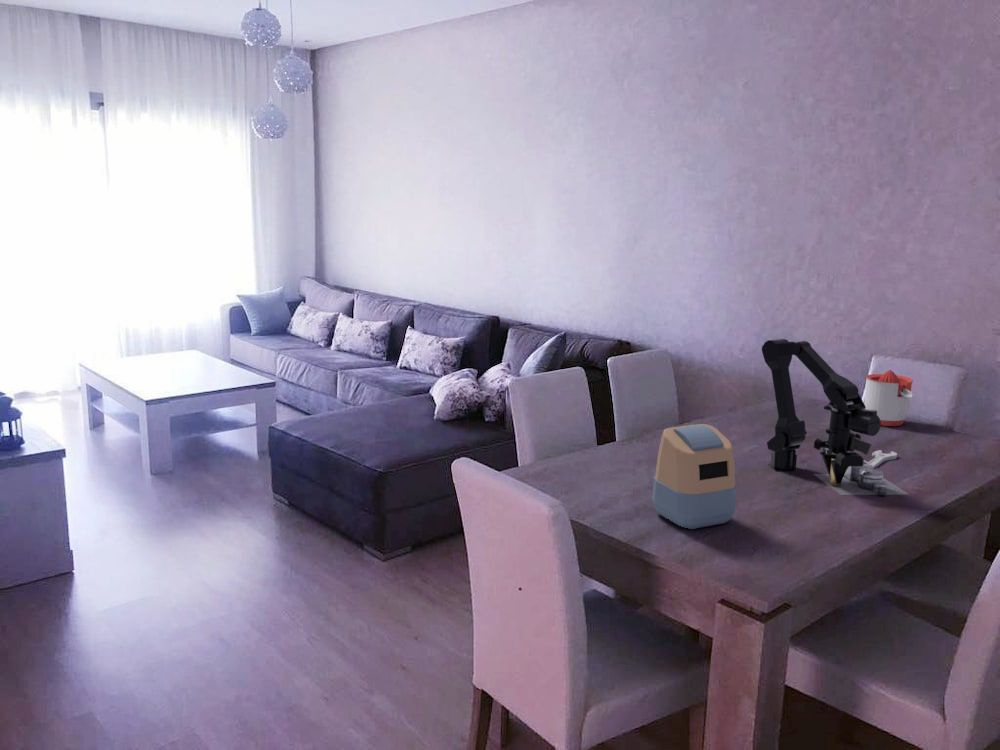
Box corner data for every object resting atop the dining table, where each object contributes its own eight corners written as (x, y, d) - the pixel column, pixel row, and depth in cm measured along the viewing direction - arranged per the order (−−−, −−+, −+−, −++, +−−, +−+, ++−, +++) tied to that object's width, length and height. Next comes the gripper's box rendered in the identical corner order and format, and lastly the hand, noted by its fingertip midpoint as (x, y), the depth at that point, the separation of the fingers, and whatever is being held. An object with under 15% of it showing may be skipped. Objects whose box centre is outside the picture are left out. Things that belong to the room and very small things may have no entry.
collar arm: (895, 495, 218) (896, 480, 217) (872, 495, 218) (874, 480, 217) (861, 472, 237) (862, 458, 236) (840, 472, 237) (841, 458, 236)
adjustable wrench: (867, 476, 238) (867, 470, 238) (845, 471, 243) (846, 465, 243) (899, 457, 255) (899, 452, 255) (878, 453, 260) (878, 448, 260)
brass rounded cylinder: (832, 487, 226) (834, 461, 224) (827, 483, 229) (829, 458, 227) (843, 487, 226) (845, 461, 224) (838, 483, 229) (840, 458, 228)
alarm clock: (685, 535, 193) (689, 441, 188) (645, 512, 208) (649, 425, 203) (740, 524, 199) (746, 434, 194) (698, 503, 214) (703, 418, 210)
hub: (864, 492, 223) (865, 474, 222) (853, 484, 229) (855, 467, 228) (885, 491, 223) (887, 474, 222) (875, 484, 229) (876, 467, 228)
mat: (840, 495, 220) (840, 494, 220) (813, 474, 237) (813, 474, 237) (909, 495, 220) (909, 494, 220) (876, 474, 238) (876, 473, 238)
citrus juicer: (889, 431, 285) (895, 376, 281) (852, 419, 301) (857, 367, 297) (922, 427, 291) (928, 373, 287) (884, 416, 307) (889, 364, 303)
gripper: (885, 436, 215) (879, 492, 218) (853, 419, 234) (848, 470, 237) (844, 436, 215) (839, 492, 218) (815, 419, 233) (811, 470, 236)
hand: (835, 481), depth 227 cm, fingers closed on brass rounded cylinder, 3 cm apart
